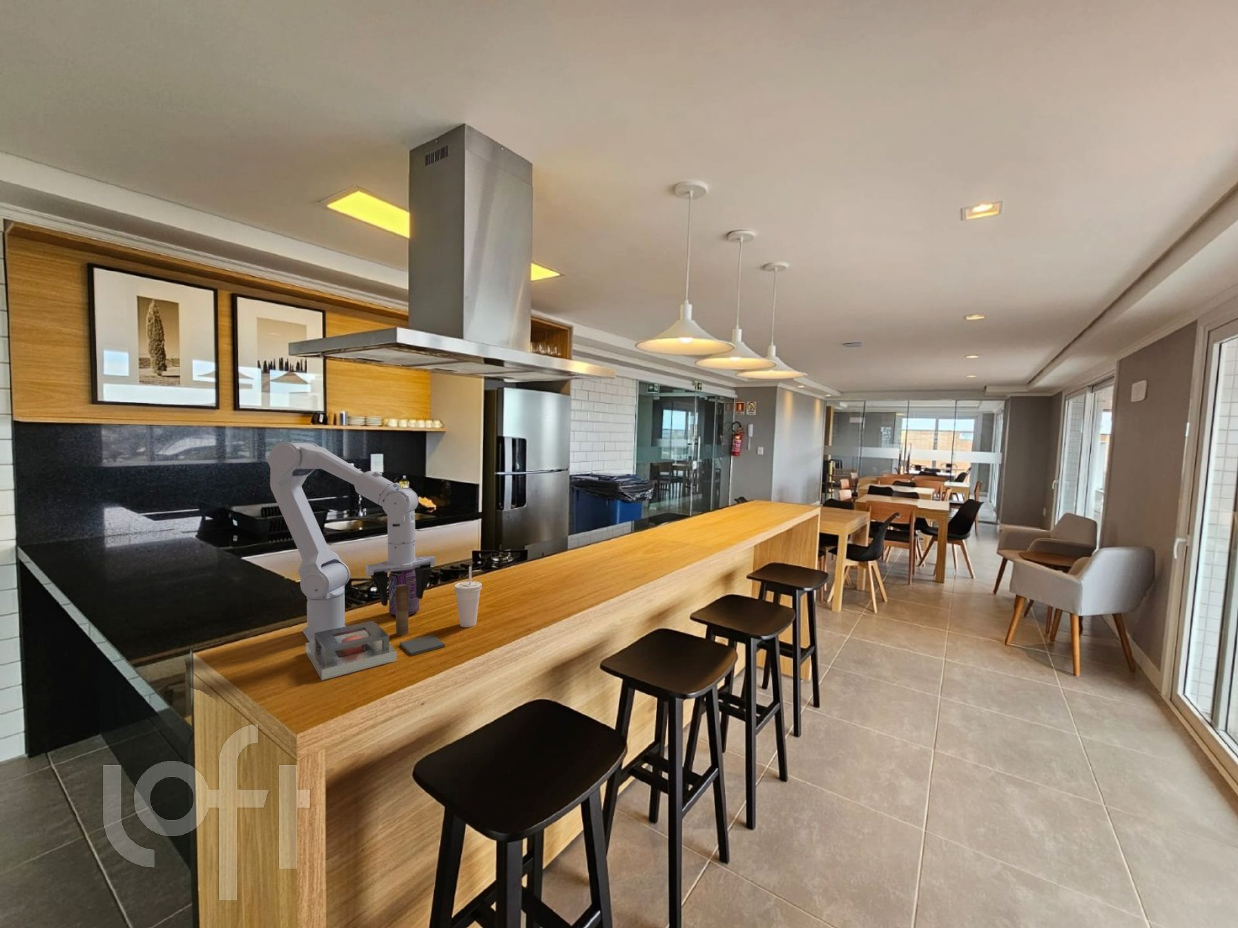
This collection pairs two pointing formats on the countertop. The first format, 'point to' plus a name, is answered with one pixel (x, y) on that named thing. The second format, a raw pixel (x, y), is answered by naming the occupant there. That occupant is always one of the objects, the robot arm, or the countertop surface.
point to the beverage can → (409, 579)
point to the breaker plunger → (352, 649)
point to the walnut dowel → (401, 610)
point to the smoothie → (468, 601)
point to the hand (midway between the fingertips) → (402, 601)
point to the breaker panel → (349, 660)
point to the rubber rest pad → (422, 644)
